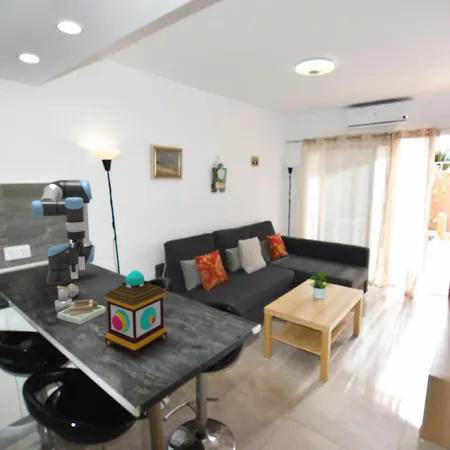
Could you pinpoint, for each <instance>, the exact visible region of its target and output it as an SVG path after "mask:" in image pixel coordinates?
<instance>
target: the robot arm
mask: <svg viewBox="0 0 450 450" xmlns="http://www.w3.org/2000/svg"><path fill="white" fill-rule="evenodd" d="M91 200H93V196H92V189H91V184H90V182H89V181H88V180H84V179H83V180H82V179H69V180H68V179H60V180H54V181H52V182H49V183H48V184H47V185H45V186H44V188H43V191H42V197H41V198H40V200H39V199H38V200H33V201H31V203H30V204H31V208H30V209H31V214H32V215H33V216H34V217H41V218H43V217H60V216H62V217H63V216H64V217H65V219H66V220H65V221H66V223H65V226H66V231H67V232H66V235H67V236H66V238H67V240H69V241H71V243H69V244H68V243H65V244H64V243H63V244H57V245H53V246H51V247H50V248H49V247H48V249H47V260H48V261H47V262H48V273H47V277H46V284H47V285H48V286H62V285H67V284H70V282H71V283H72V282H73V281H75V280H76V279H78V280H79V273H78V271H83V270H86V264H90V263H91V264H92V263H93V262H94V259H95V249H96V246H95V244H93V242H92V241H91V240H90V228H89V227H90V225H89V208H88V207H89V205H88V204H90V202H91Z"/></svg>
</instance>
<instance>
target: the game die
mask: <svg viewBox="0 0 450 450" xmlns="http://www.w3.org/2000/svg"><path fill="white" fill-rule="evenodd" d="M68 284H69V285H67V284H65V285H66V286H65V287H67V288H68V290H67V293H68V297H69V298H72V300H73V299H74V298H75V297H77V296H78V294H79V293H82V291H80V289H79V288H80V285H78V283H75V284H74V283H72V282H70V283H68Z"/></svg>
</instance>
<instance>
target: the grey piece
mask: <svg viewBox="0 0 450 450" xmlns="http://www.w3.org/2000/svg"><path fill="white" fill-rule="evenodd" d="M56 288H57V294H58V295H57V296H58V298H57V299H56V300H55V301H54V308H55V312H57V313H59V312H61V311H63V310H66V309H68V308H70V306H71V302H73V299H72V298H71V297H68V293H67V290H68V288H67V286H62V285H56Z"/></svg>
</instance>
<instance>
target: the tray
mask: <svg viewBox="0 0 450 450" xmlns="http://www.w3.org/2000/svg"><path fill="white" fill-rule="evenodd" d="M69 309H70V308H68V309H66V310H63V311H61V312H57V313H56V317H57V319H59V320H62V321H65V322H69V323H72V324H77V325H83V324H86V323H87V322H89V321H91V320H92V319H95V318H96V317H99V316H100V315H102V314H105V313H106V312H107V307H106V306H104V305H101V304H100V305H99V304H97V309H93V311H92V313H86V314H78V315H71V316H70V311H69Z"/></svg>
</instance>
